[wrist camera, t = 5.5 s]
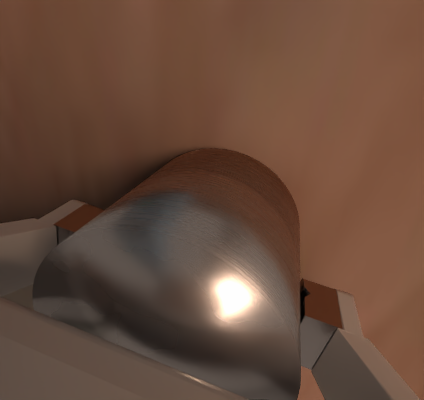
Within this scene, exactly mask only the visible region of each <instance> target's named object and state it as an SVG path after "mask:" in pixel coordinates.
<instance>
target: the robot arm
mask: <svg viewBox="0 0 424 400" xmlns="http://www.w3.org/2000/svg"><path fill="white" fill-rule="evenodd" d="M103 211H104V210H103V209H100V208H98V207H95V206H92V205H90V204H86V203H84V202H81V201H78V200H70V201H69V202H67V203H65V204H64V205H62V206H60V207H58V208H57V209H55V210H53V211H52V212H50V213H48V214H46V215H45V216H43V217H41V218H40V219H35V218H31V219H25V220H19V221H13V222H7V223H0V400H249V399H247V398H245V397H242V396H240V395H237V394H235V393H233V392H230V391H228V390H225V389H223V388H221V387H218V386H216V385H213V384H211V383H208V382H206V381H204V380H201V379H199V378H196V377H194V376H192V375H189V374H187V373H184V372H182V371H179V370H177V369H175V368H172V367H170V366H167V365H165V364H163V363H160V362H158V361H155V360H153V359H151V358H148V357H146V356H143V355H141V354H138V353H136V352H134V351H131V350H129V349H126V348H124V347H122V346H119V345H117V344H114V343H112V342H109V341H107V340H105V339H102V338H100V337H97V336H95V335H93V334H90V333H88V332H85V331H83V330H81V329H78V328H76V327H73V326H71V325H68V324H66V323H64V322H61V321H59V320H56V319H54V318H52V317H49V316H47V315H44V314H42V313H39V312H37V311H35V310H32V309H30V308H27V307H25V306H23V305H20V304H18V303H15V302H13V301H11V300H8V299H6V298H3V297H1V296H4V295H6V294H9V293H11V292H14V291H16V290H19V289H21V288H24V287H26V286H29V285H31V284H33V283H34V278H35V275H36V272H37V270H38V267H39V266H40V264H41V263H42V261H43V259H44V258H45V257H46V256H47V255H48V254H49V252H50V251H51V250H52V249H53V248H55V247H56V246H57V245H59V244H60V243H61V242H63V241H64V240H65V239H67V238H68V237H69V236H71V235H72V234H73V233H75V232H76V231H77V230H79V229H80V228H82V227H83V226H84V225H86V224H87V223H88V222H90V221H91V220H92V219H94V218H95V217H96V216H98V215H99V214H100V213H102V212H103ZM300 342H301V366H303V367H306V368H308V369H311V370H312V371H311V372H312V374H313V376H314V378H315V380H316V382H317V384H318V386H319V388H320V390H321V392H322V394H323V396H324V399H325V400H420V399H419V398H418V397H417V395H416V394H415V393H414V392H413V391H412V390H411V388H410V387H409V386H408V385H407V384H406V382H405V381H404V380H403V379H402V378H401V377H400V375H399V374H398V373H397V372H396V371H395V370H394V368H393V367H392V366H391V365H390V364H389V363H388V361H387V360H386V359H385V358H384V357H383V355H382V354H381V353H380V352H379V351H378V350H377V348H376V347H375V346H374V345H373V344H372V343H371V341H370V340H369V339H367V338H364V337H363V334H362V329H361V325H360V321H359V317H358V313H357V309H356V305H355V301H354V297H353V295H352V294H350V293H347V292H343V291H340V290H337V289H332V288H329V287H326V286H323V285H320V284H317V283H314V282H311V281H308V280H305V279H301V281H300Z"/></svg>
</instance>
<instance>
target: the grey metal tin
mask: <svg viewBox="0 0 424 400" xmlns="http://www.w3.org/2000/svg"><path fill="white" fill-rule="evenodd" d="M32 300H33V308H34V310H35V311H37V312H39V313H42V314H44V315H47V316H49V317H52V318H54V319H56V320H59V321H61V322H64V323H66V324H68V325H71V326H73V327H76V328H78V329H81V330H83V331H85V332H88V333H90V334H93V335H95V336H97V337H100V338H102V339H105V340H107V341H109V342H112V343H114V344H117V345H119V346H122V347H124V348H126V349H129V350H131V351H134V352H136V353H138V354H141V355H143V356H146V357H148V358H151V359H153V360H155V361H158V362H160V363H163V364H165V365H167V366H170V367H172V368H175V369H177V370H179V371H182V372H184V373H187V374H189V375H192V376H194V377H196V378H199V379H201V380H204V381H206V382H208V383H211V384H213V385H216V386H218V387H221V388H223V389H225V390H228V391H230V392H233V393H235V394H237V395H240V396H242V397H245V398H247V399H249V400H297V398H298V394H299V389H300V382H301V342H300V223H299V216H298V211H297V208H296V205H295V202H294V200H293V198H292V196H291V194H290V192H289V190H288V189H287V187H286V186H285V184H284V183H283V182H282V181H281V180H280V178H279V177H278V176H277V175H276V174H275V173H274V172H272V171H271V170H270V169H269V168H268V167H266V166H265V165H263V164H262V163H261V162H259V161H257V160H255V159H253V158H251V157H249V156H247V155H244V154H242V153H239V152H236V151H231V150H227V149H217V148H210V149H199V150H194V151H191V152H188V153H185V154H182V155H180V156H178V157H176V158H174V159H173V160H172V161H170V162H169V163H167V164H166V165H165V166H163V167H162V168H161V169H159V170H158V171H157V172H155V173H154V174H153V175H151V176H150V177H148V178H147V179H146V180H144V181H143V182H142V183H140V184H139V185H138V186H136V187H135V188H134V189H132V190H131V191H130V192H128V193H127V194H126V195H124V196H123V197H122V198H120V199H119V200H118V201H116V202H115V203H114V204H112V205H111V206H110V207H108V208H107V209H106V210H104V211H103V212H102V213H100V214H99V215H98V216H96V217H95V218H94V219H92V220H91V221H90V222H88V223H87V224H86V225H84V226H83V227H82V228H80V229H79V230H77V231H76V232H75V233H73V234H72V235H71V236H69V237H68V238H67V239H65V240H64V241H63V242H61V243H60V244H59V245H57V246H56V247H55V248H53V249H52V250H51V251H50V252H49V254H48V255H47V256H46V257H45V258H44V259H43V261H42V263H41V264H40V266H39V267H38V270H37V272H36V275H35V278H34V283H33V290H32Z"/></svg>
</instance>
